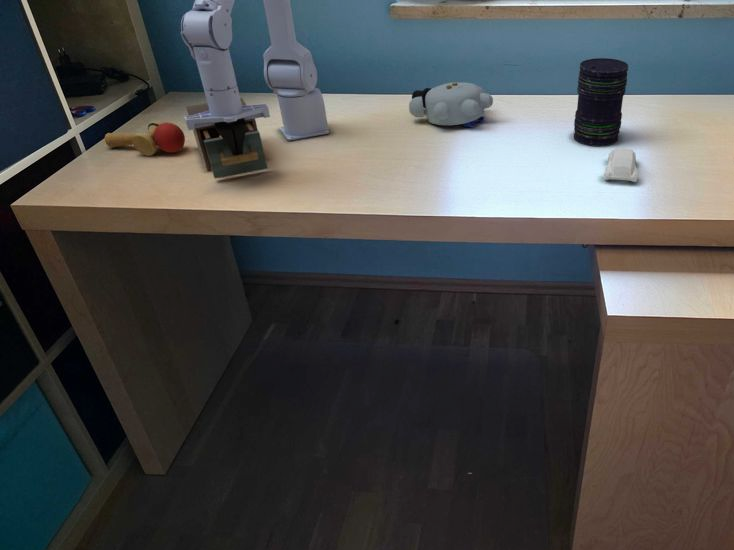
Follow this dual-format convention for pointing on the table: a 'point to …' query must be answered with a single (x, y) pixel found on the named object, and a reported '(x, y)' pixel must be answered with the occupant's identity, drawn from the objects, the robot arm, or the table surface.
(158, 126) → the kendama
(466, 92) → the figurine
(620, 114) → the storage jar
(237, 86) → the robot arm
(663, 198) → the table surface
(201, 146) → the cabinet
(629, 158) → the white toy car
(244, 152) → the drawer
